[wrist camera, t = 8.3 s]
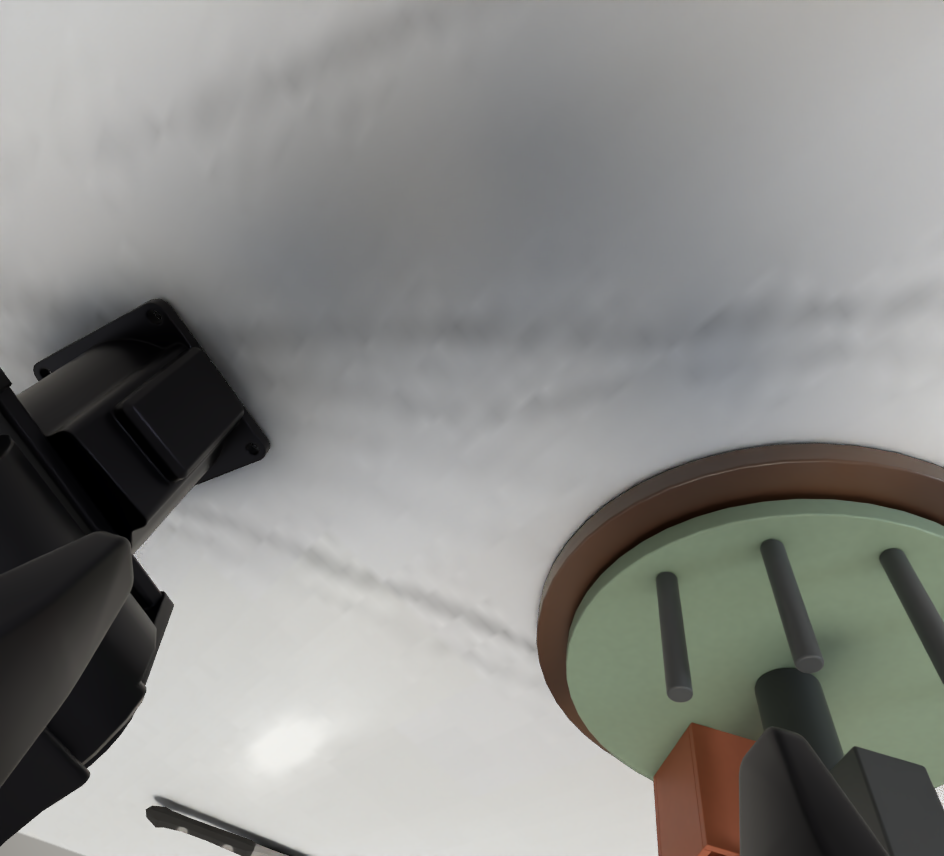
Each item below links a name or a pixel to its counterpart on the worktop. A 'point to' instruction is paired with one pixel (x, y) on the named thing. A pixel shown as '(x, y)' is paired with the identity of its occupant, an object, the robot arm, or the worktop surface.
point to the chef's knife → (207, 832)
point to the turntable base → (712, 490)
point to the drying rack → (772, 663)
